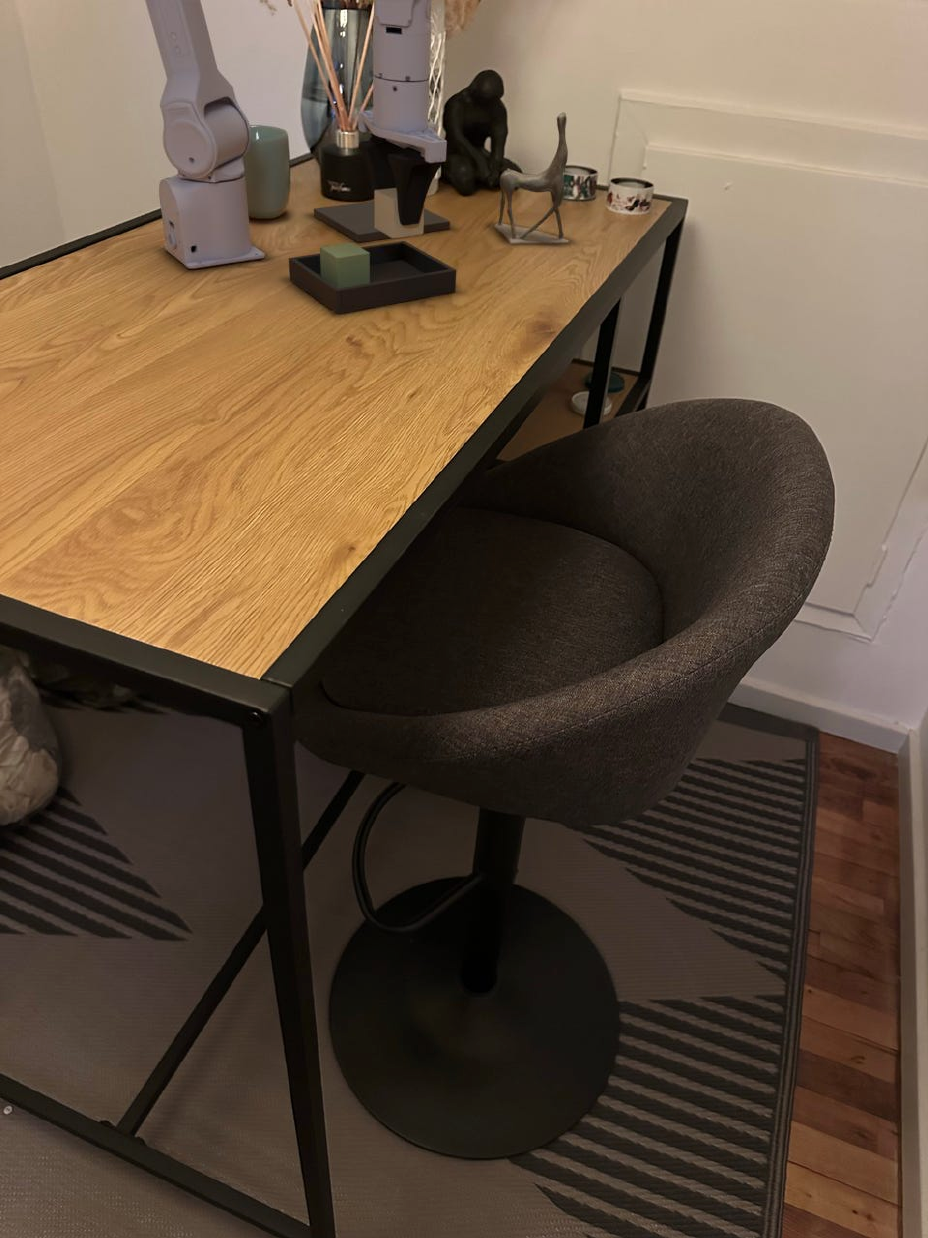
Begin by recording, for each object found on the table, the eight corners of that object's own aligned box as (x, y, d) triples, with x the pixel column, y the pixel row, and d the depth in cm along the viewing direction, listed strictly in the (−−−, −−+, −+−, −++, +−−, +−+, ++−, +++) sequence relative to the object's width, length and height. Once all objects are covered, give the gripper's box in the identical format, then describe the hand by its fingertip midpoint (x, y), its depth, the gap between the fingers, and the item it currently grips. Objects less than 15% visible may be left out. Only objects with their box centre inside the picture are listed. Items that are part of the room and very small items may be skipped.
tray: (337, 314, 96) (336, 290, 94) (289, 280, 103) (288, 257, 101) (455, 292, 103) (456, 269, 101) (403, 261, 110) (404, 240, 108)
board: (358, 242, 114) (357, 234, 113) (313, 216, 121) (313, 208, 121) (450, 228, 121) (450, 221, 120) (402, 204, 128) (402, 197, 127)
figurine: (475, 233, 120) (483, 105, 110) (500, 223, 124) (510, 99, 114) (547, 253, 115) (562, 121, 106) (571, 241, 120) (587, 113, 110)
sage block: (338, 295, 99) (337, 257, 96) (321, 283, 101) (319, 246, 99) (370, 289, 101) (369, 252, 98) (352, 278, 103) (351, 241, 100)
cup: (222, 218, 118) (213, 133, 112) (250, 203, 124) (243, 121, 118) (276, 227, 117) (270, 141, 110) (302, 211, 123) (298, 129, 116)
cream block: (392, 238, 99) (393, 199, 96) (374, 227, 101) (374, 189, 99) (423, 234, 101) (424, 195, 98) (404, 223, 103) (405, 186, 101)
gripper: (474, 88, 89) (465, 232, 98) (398, 62, 98) (396, 196, 106) (414, 92, 86) (410, 240, 94) (340, 64, 94) (343, 202, 103)
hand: (399, 217), depth 100 cm, fingers closed on cream block, 4 cm apart
